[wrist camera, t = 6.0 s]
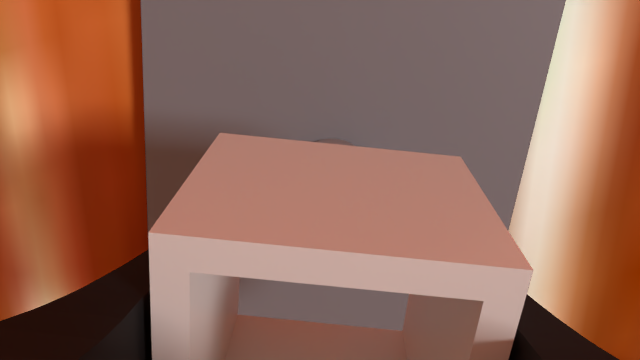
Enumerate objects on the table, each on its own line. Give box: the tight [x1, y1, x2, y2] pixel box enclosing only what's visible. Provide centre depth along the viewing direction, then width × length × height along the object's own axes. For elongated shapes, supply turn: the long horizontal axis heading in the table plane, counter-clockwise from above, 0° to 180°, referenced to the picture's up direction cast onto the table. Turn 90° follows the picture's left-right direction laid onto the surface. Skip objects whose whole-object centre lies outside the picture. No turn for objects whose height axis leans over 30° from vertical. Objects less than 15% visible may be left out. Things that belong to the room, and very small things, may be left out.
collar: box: [148, 133, 533, 360], centre depth 11 cm, size 6×6×5 cm
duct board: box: [141, 0, 566, 331], centre depth 17 cm, size 13×18×4 cm
